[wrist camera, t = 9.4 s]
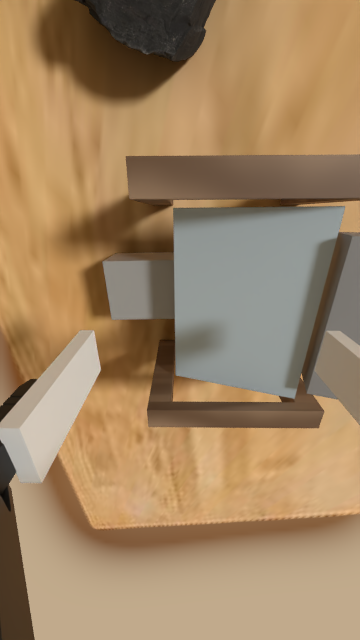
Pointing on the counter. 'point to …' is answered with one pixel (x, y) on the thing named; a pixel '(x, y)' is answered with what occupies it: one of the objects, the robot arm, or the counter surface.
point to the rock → (155, 24)
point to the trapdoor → (262, 294)
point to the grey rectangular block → (140, 285)
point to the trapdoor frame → (237, 183)
